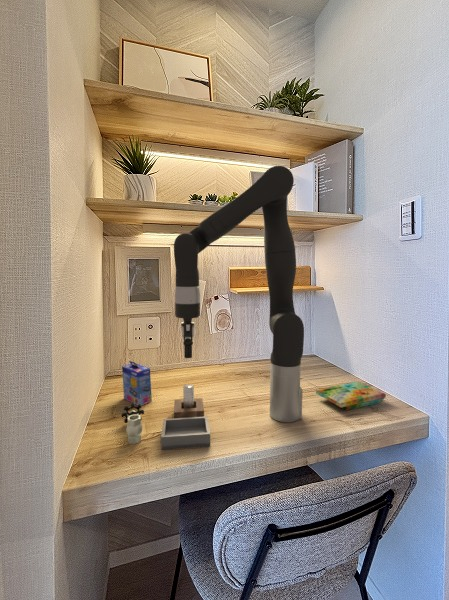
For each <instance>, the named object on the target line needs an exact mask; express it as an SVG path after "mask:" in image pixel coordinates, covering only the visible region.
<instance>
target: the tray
mask: <svg viewBox="0 0 449 600" xmlns="http://www.w3.org/2000/svg"><path fill="white" fill-rule="evenodd" d="M210 431H211V430H210V425H209V416H205V415H204V417H190V418H174V417H173V418H163V421H162V427H161V433H160V434H161V435H160V449H161V451H169V450H171V451H172V450H184V449H197V448H198V449H199V448H208V447H209V448H210V447H211V432H210Z"/></svg>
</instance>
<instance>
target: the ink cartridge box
mask: <svg viewBox="0 0 449 600" xmlns="http://www.w3.org/2000/svg"><path fill="white" fill-rule="evenodd" d="M128 361H129V364H125V365H122V367H121V369H122V387H123V388H122V390H123V391H122V392H123V399H124V400H126V401H128V402H130V403H132V402H133V403H134V404H135V406H137V405H138V404H141V406H143V405H145V404H149V403H152V401H153V398H152V397H153V396H152V395H153V394H152V381H151V379H152V377H151V368H150V367H148V366H144V365H141V364H139V363H136V362H135V361H132V360H128Z"/></svg>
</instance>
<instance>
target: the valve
mask: <svg viewBox="0 0 449 600" xmlns="http://www.w3.org/2000/svg"><path fill="white" fill-rule="evenodd" d="M134 409H135V410H136V411H135V410H134ZM130 410H131V411H130ZM123 411H125V412H122V413H120V415H121V418H124V417H125V419H124V420H123V422H124V424H126V425H127V426H126V428H125V429H126V435H127V436H128V437H127V440H128V444H130V445H131V444H134V445H136V444H138V443H140V442H141V441H142V432H143V425H142V420H143V419H142V416H141V415H144V414H145V410H144V409H142V405H141V404H138V405H136V404H134V403H133V402H130V406H127V405H125V406H123ZM129 411H130V412H129Z"/></svg>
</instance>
